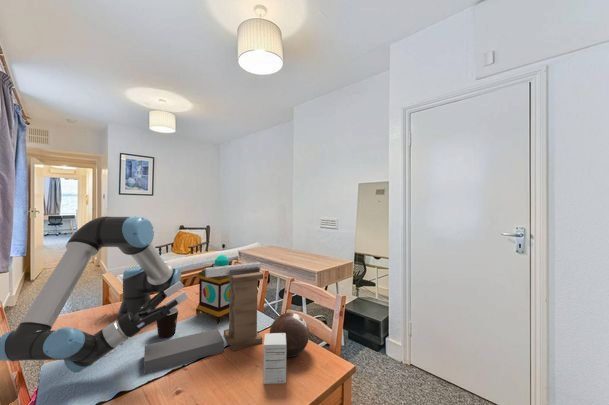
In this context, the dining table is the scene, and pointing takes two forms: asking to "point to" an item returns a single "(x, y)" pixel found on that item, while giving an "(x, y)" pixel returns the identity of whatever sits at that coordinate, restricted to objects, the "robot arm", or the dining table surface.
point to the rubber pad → (182, 350)
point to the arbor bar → (229, 269)
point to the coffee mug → (167, 324)
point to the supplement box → (274, 358)
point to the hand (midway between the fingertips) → (184, 288)
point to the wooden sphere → (292, 332)
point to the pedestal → (243, 309)
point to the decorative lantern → (214, 292)
